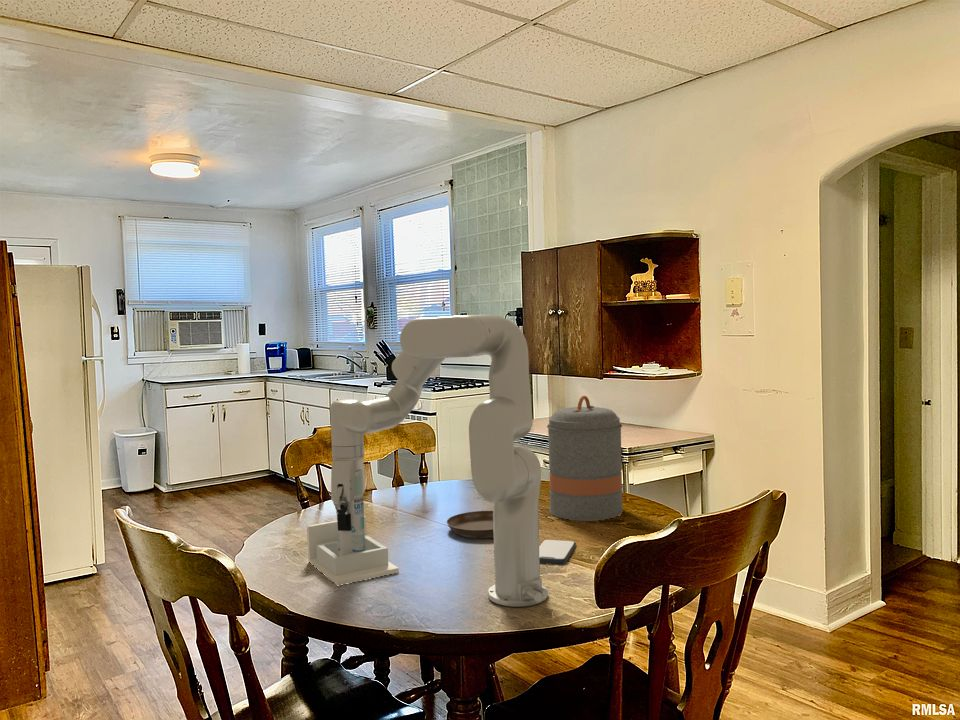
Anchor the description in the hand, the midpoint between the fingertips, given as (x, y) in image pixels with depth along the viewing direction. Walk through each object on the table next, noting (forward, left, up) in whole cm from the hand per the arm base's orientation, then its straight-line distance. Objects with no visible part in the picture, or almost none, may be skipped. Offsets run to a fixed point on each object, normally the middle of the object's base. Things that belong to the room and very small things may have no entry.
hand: (350, 525), depth 174 cm
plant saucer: (+8, -42, -11) cm, 44 cm away
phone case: (-20, -45, -11) cm, 51 cm away
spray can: (0, 0, -7) cm, 7 cm away
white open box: (0, 0, -10) cm, 10 cm away
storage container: (+6, -77, -10) cm, 78 cm away
